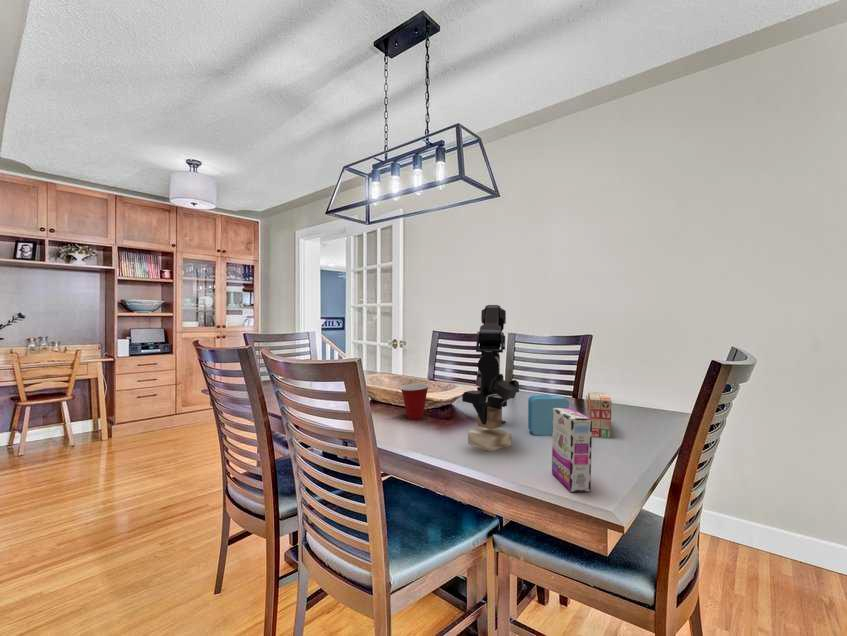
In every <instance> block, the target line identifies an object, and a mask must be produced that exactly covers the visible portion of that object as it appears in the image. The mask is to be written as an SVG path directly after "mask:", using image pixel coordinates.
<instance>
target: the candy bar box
mask: <svg viewBox="0 0 847 636" xmlns="http://www.w3.org/2000/svg"><path fill="white" fill-rule="evenodd" d="M592 438H593V437H592V419H591V418H589V417H587V415H585V414H583V413H582V412H580V411H577V410H575V409H573V408H571V407H569V408H553V435H552V438H551V439H552V443H551V445H552V447H551V475H553V476H554V478H556V479H557V480H558V481H559V482H560V483H561V484H562V486H564V487H565V488H566V489H567V490H568V491H569V492H570V493H590V492H591V491H592V490H591V489H592V487H591V482H592V476H591V475H592V442H593V440H592Z"/></svg>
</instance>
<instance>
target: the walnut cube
mask: <svg viewBox="0 0 847 636" xmlns="http://www.w3.org/2000/svg"><path fill="white" fill-rule="evenodd" d="M502 420H503V409H502V410H501V409H496V408H492V407H487V419H486V424H485V425H484V424H482V422H481V420H480V418H479V416H478V415H477V427H480V428H487V429H495V428H496V429H499V428H501V427H502V424H503V423H502Z"/></svg>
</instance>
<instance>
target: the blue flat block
mask: <svg viewBox="0 0 847 636" xmlns="http://www.w3.org/2000/svg"><path fill="white" fill-rule="evenodd" d="M527 401H528V404H527V407H528V409H527V415H528V416H527V419H528V421H527V423H528V424H527V428H528V430H529V431H530V433H532V435H534V436H553V408H570V401H569V399H567V398H566V397H564V396H562V395H559V394H557V395H530V396H529V397H528V400H527Z"/></svg>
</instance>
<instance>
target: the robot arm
mask: <svg viewBox="0 0 847 636" xmlns="http://www.w3.org/2000/svg"><path fill="white" fill-rule="evenodd" d="M506 312H507V311H506V310H505V309H504V308H502V307H501V305H499V304H487V305H485V306H484V308H483V309H482V310H481V317H480V319H481V325H480V327H479V331H477V333H476V347H475V352H476V353H480V357H479V359H478V361H477V362H478V363H477V369H478V371H479V373H477V375H476V377H477V378H479V384H480V385H479V386H477V387H476V390H474V389H473V390H467V391H464V392H463V393H462V394H461V395H462V398H461V400H462V401H461V402H464V403H467V404H471V405H472V407H473V408H474V410H475V411H476V413H477V417H478V416H479V418H480V420H481V422H482V424H484V425H485V424H486V419H487V407H492V408H496V409H501V410H502V411H503V408H505V407H507V406H508V401H509V400H510V399H515V398H516V397H515V396H517V395H516V394H518V393H520V385H519V384H520V383H519V380H517V379H513V380H510V381H509V380H504V379H505V378H504V374H503V373H500V371H501V369H500V368H501V367H500V365H501V364H500V363H501V361H500V359H501V355H500V353H501V354H502V353H504V351H505V350H506V335H505V333H504V332H503V331H504V328H505V326H504V325H506V324H507V317H506V315H507V313H506ZM505 423H506V420H503V419H502V424H505Z"/></svg>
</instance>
